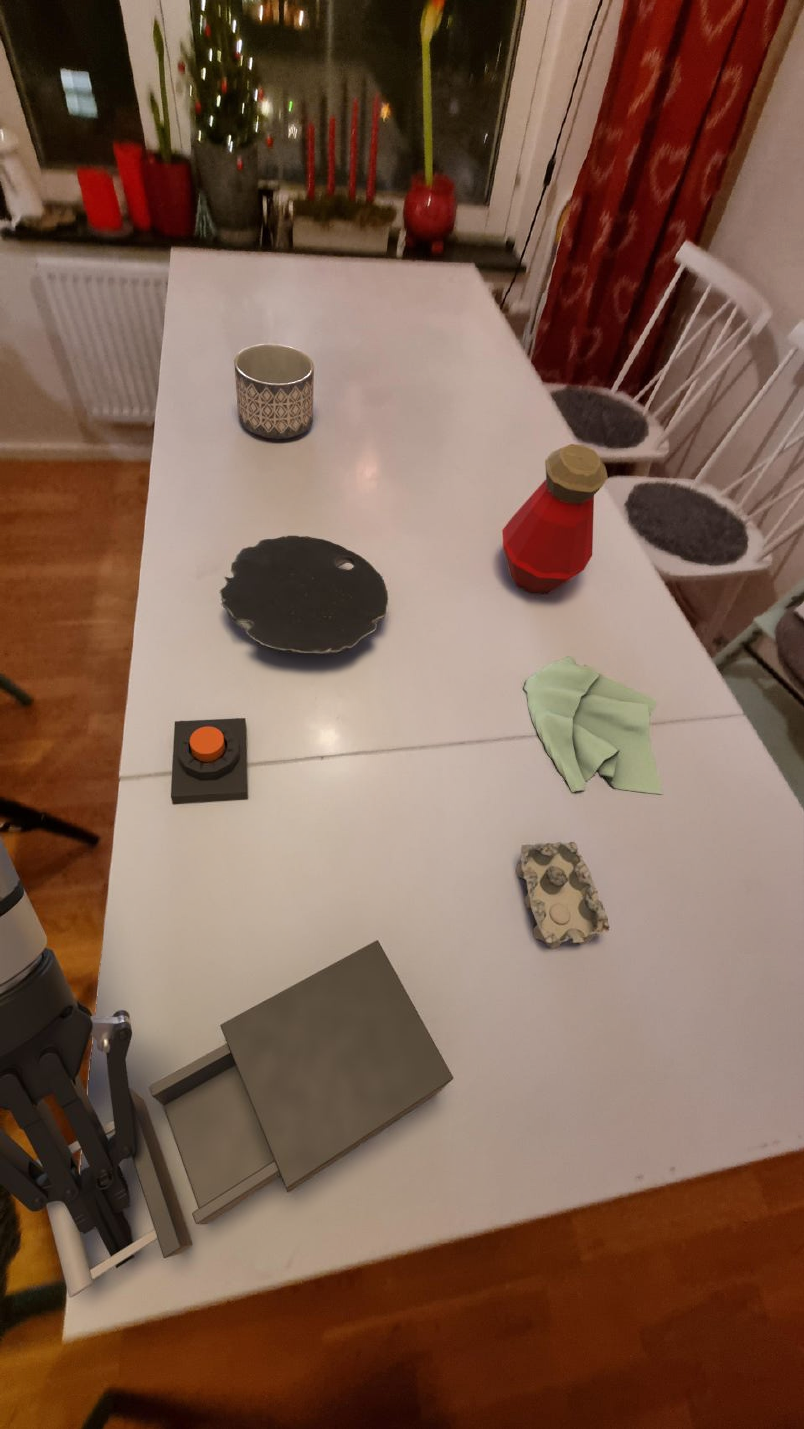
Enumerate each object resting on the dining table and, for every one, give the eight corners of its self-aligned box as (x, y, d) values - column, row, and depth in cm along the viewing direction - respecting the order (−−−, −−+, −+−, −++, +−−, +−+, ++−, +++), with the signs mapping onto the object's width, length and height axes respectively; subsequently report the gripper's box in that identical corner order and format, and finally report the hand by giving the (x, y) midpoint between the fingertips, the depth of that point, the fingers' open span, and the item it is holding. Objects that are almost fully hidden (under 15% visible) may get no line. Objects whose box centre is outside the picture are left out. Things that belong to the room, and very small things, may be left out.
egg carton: (600, 946, 72) (614, 933, 69) (531, 951, 71) (542, 939, 68) (573, 851, 79) (586, 835, 75) (510, 855, 77) (519, 839, 74)
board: (352, 549, 104) (354, 522, 100) (410, 656, 93) (415, 629, 89) (204, 577, 97) (200, 548, 93) (248, 696, 86) (246, 669, 82)
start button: (225, 761, 76) (223, 752, 75) (191, 763, 76) (189, 754, 74) (225, 734, 78) (223, 725, 77) (192, 736, 78) (190, 727, 76)
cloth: (556, 643, 97) (561, 631, 96) (700, 726, 92) (708, 716, 90) (481, 735, 87) (485, 724, 85) (638, 836, 81) (647, 826, 79)
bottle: (502, 530, 111) (537, 413, 95) (584, 553, 110) (634, 439, 94) (482, 594, 102) (517, 477, 85) (572, 620, 101) (624, 506, 85)
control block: (247, 799, 77) (245, 783, 75) (172, 804, 76) (168, 788, 73) (246, 725, 83) (244, 708, 80) (176, 729, 82) (172, 711, 79)
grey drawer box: (287, 1192, 57) (286, 1188, 50) (228, 1046, 63) (219, 1024, 56) (436, 1094, 62) (454, 1078, 56) (369, 967, 68) (377, 939, 61)
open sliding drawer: (92, 1310, 51) (68, 1320, 45) (51, 1150, 56) (24, 1143, 50) (335, 1151, 58) (339, 1143, 53) (278, 1023, 64) (276, 1005, 58)
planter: (262, 395, 125) (260, 336, 117) (325, 418, 123) (327, 359, 115) (224, 428, 118) (218, 368, 110) (290, 453, 116) (289, 393, 108)
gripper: (90, 910, 51) (199, 1161, 56) (-109, 997, 46) (33, 1262, 52) (93, 952, 44) (217, 1232, 50) (-139, 1059, 39) (28, 1356, 45)
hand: (123, 1247), depth 51 cm, fingers closed
